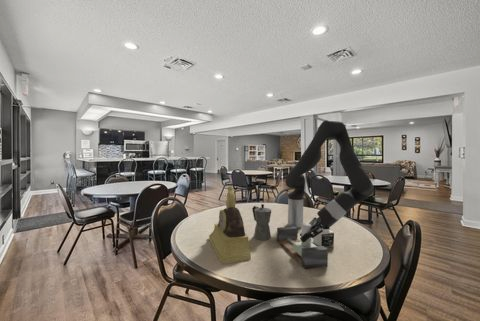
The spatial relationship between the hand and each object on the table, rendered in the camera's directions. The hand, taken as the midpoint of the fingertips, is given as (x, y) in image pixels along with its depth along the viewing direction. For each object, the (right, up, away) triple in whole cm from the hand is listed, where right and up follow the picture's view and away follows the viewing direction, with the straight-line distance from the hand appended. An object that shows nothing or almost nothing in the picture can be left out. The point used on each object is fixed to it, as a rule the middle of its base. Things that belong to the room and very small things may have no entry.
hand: (301, 238), depth 93 cm
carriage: (+2, -6, 0) cm, 6 cm away
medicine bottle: (+15, -8, +14) cm, 22 cm away
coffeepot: (-15, -8, +25) cm, 30 cm away
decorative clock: (-33, -9, +10) cm, 35 cm away
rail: (0, -8, +6) cm, 10 cm away
